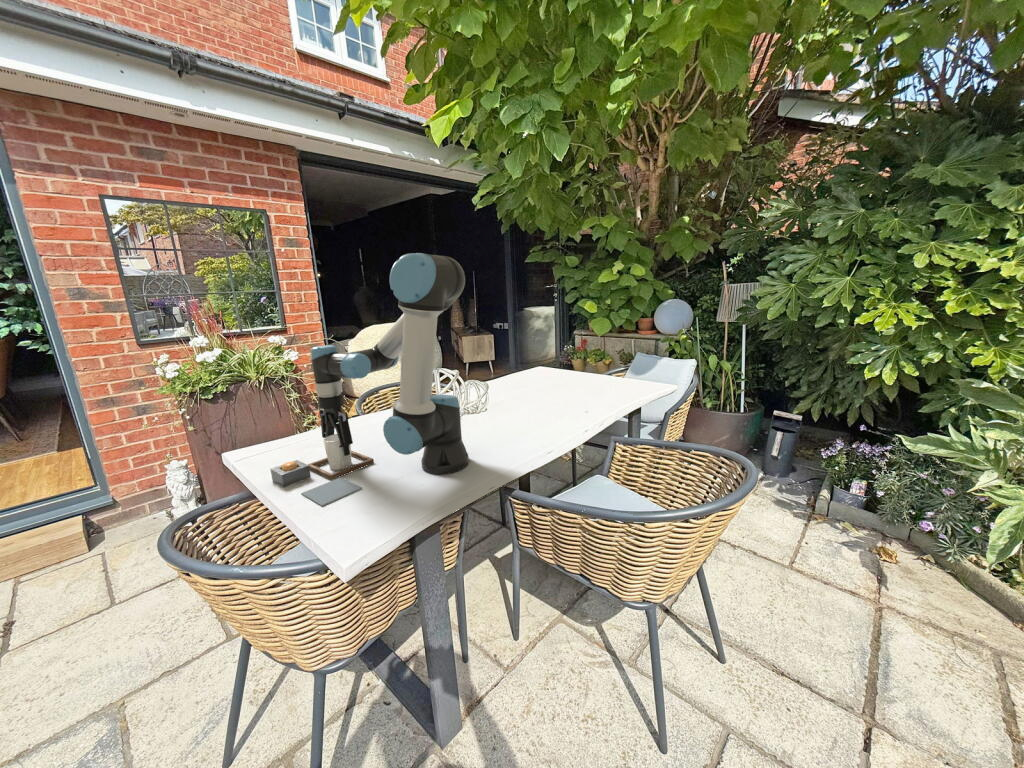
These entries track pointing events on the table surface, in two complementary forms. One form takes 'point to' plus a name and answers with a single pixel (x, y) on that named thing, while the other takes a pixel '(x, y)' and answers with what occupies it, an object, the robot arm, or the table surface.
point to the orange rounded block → (289, 466)
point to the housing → (290, 474)
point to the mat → (331, 491)
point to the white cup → (334, 452)
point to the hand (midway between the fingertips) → (340, 461)
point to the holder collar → (330, 476)
